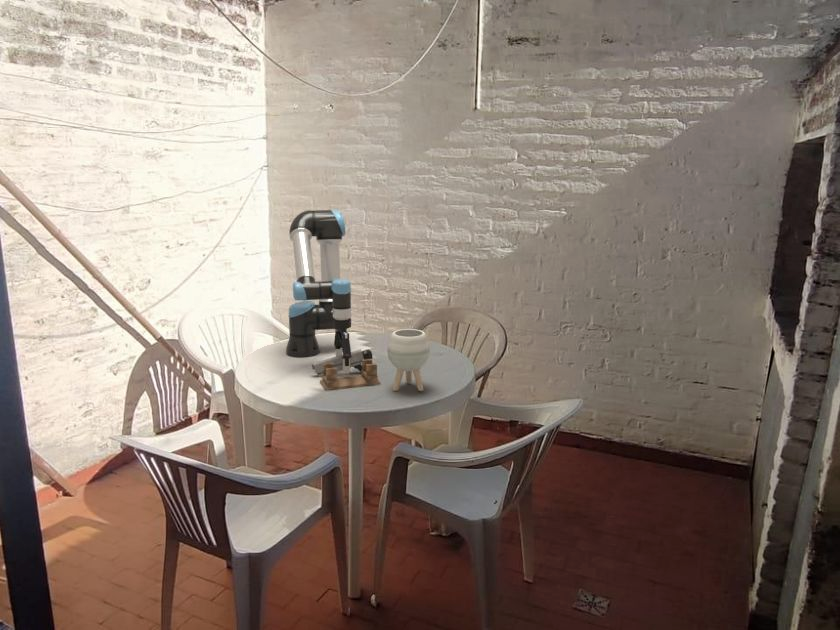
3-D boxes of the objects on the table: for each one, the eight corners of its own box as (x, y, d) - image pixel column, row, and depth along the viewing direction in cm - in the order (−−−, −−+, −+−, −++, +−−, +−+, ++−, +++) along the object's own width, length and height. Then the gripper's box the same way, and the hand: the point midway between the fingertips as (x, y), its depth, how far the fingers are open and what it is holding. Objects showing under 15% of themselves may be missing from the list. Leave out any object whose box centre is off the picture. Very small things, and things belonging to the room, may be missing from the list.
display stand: (325, 390, 245) (324, 370, 243) (320, 382, 254) (319, 363, 252) (380, 384, 252) (380, 365, 250) (373, 376, 261) (373, 357, 259)
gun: (376, 370, 266) (371, 347, 263) (318, 387, 261) (311, 365, 258) (375, 368, 269) (369, 346, 266) (317, 385, 263) (311, 363, 261)
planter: (434, 393, 243) (435, 336, 238) (393, 397, 238) (393, 339, 233) (422, 380, 258) (422, 326, 253) (383, 383, 253) (383, 329, 248)
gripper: (326, 312, 268) (327, 360, 273) (339, 325, 246) (340, 378, 251) (343, 310, 271) (344, 359, 276) (358, 324, 249) (359, 376, 253)
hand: (342, 368), depth 263 cm, fingers open, 12 cm apart
